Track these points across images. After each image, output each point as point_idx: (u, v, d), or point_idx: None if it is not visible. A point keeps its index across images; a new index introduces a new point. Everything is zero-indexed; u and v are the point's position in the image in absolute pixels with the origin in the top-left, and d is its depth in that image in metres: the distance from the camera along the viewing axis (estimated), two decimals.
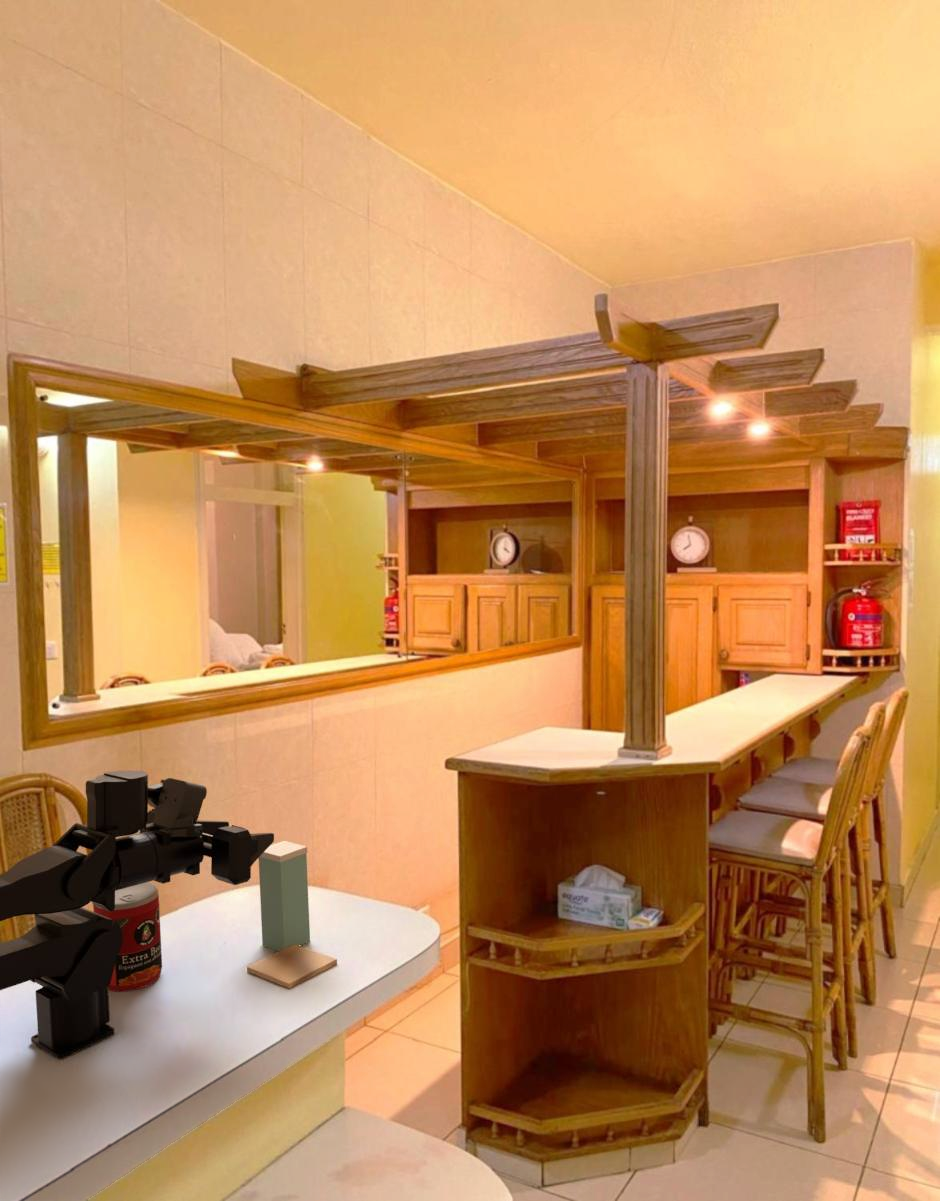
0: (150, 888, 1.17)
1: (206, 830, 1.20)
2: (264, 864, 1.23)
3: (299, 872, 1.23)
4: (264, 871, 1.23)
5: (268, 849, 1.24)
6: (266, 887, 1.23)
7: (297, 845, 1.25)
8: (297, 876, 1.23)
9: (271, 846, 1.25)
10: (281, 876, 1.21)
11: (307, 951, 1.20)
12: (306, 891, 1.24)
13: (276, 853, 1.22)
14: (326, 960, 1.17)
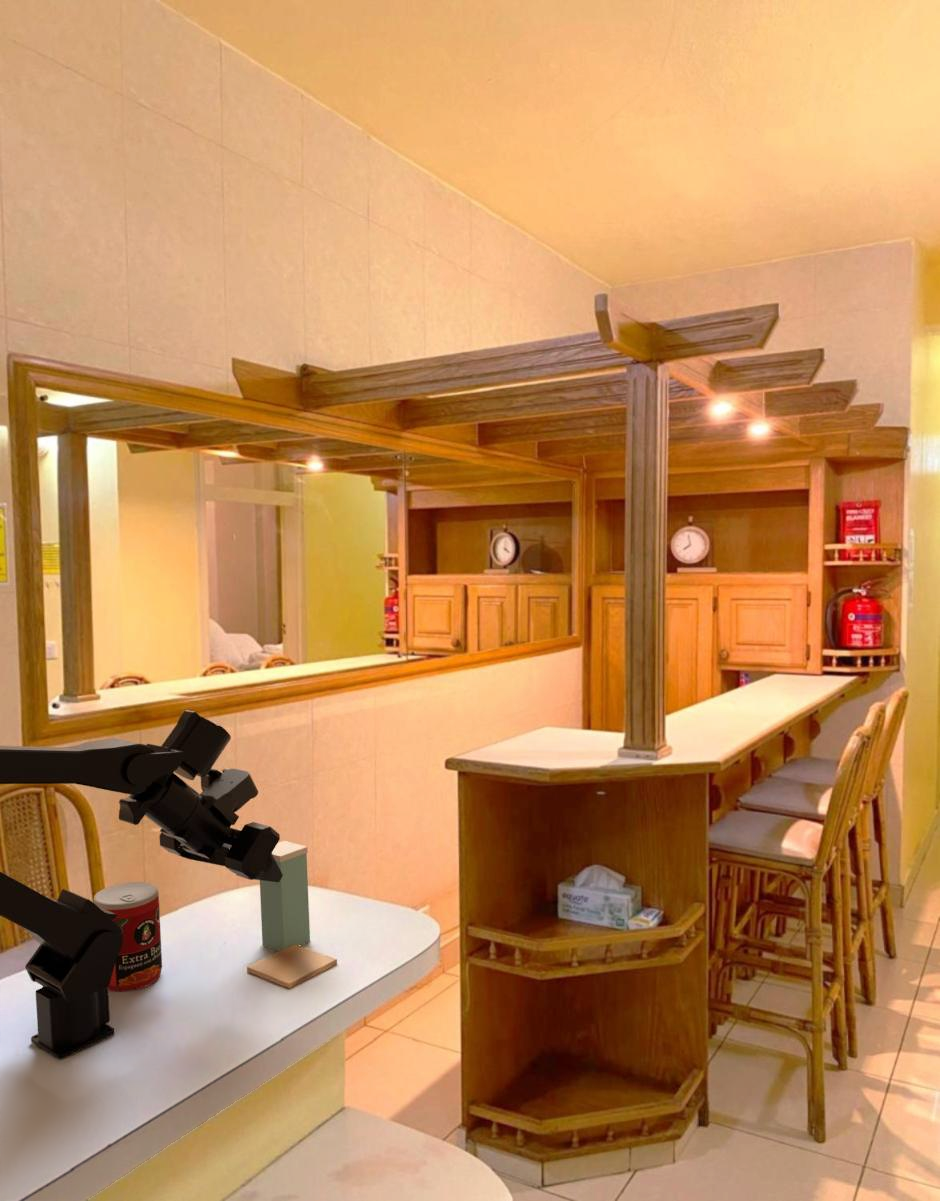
0: (150, 888, 1.17)
1: (220, 851, 1.21)
2: None
3: (299, 872, 1.23)
4: None
5: None
6: (266, 887, 1.23)
7: (298, 845, 1.25)
8: (297, 876, 1.23)
9: None
10: None
11: (307, 951, 1.20)
12: (306, 891, 1.24)
13: (276, 853, 1.22)
14: (326, 960, 1.17)
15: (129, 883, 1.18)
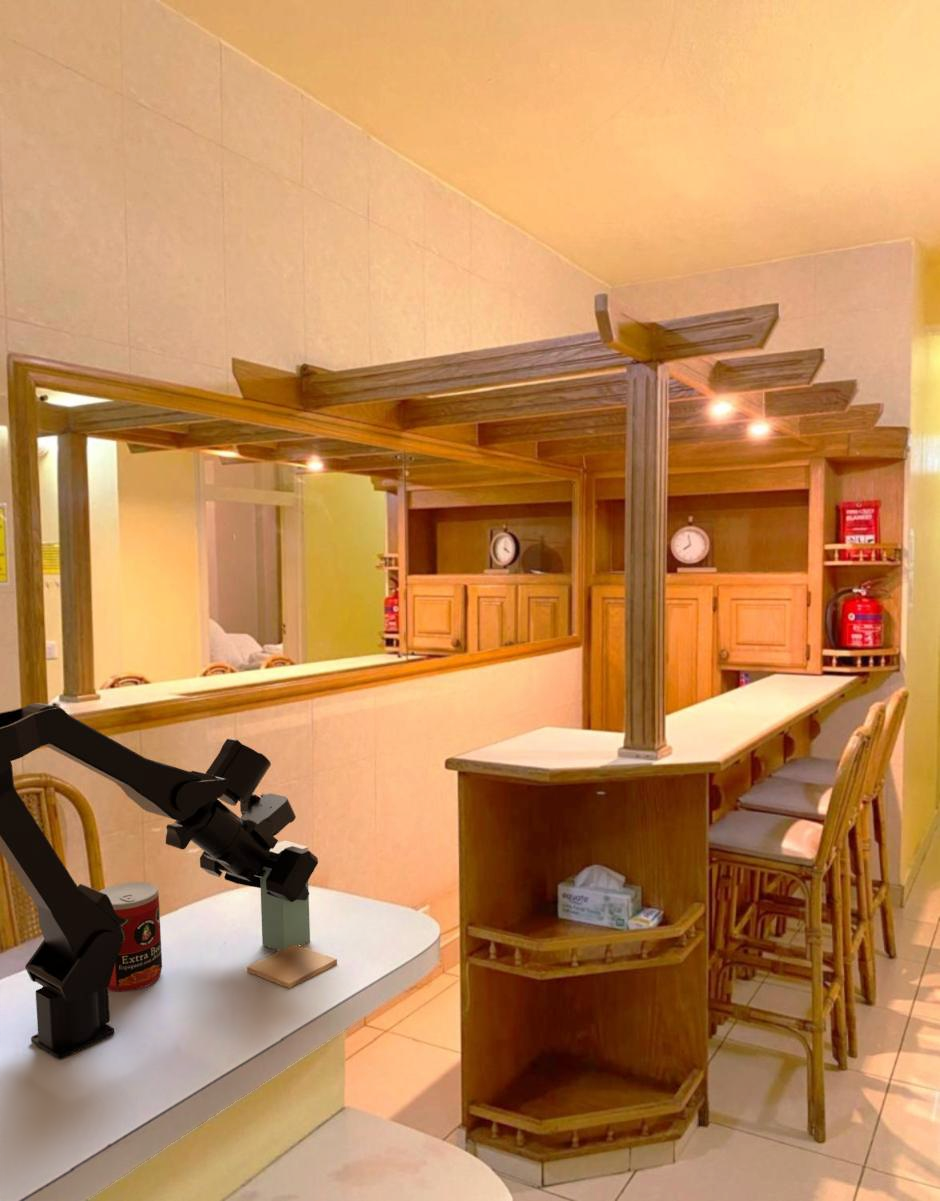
0: (150, 888, 1.17)
1: None
2: None
3: None
4: None
5: None
6: None
7: (298, 845, 1.25)
8: None
9: None
10: None
11: (307, 951, 1.20)
12: None
13: None
14: (326, 960, 1.17)
15: (129, 883, 1.18)
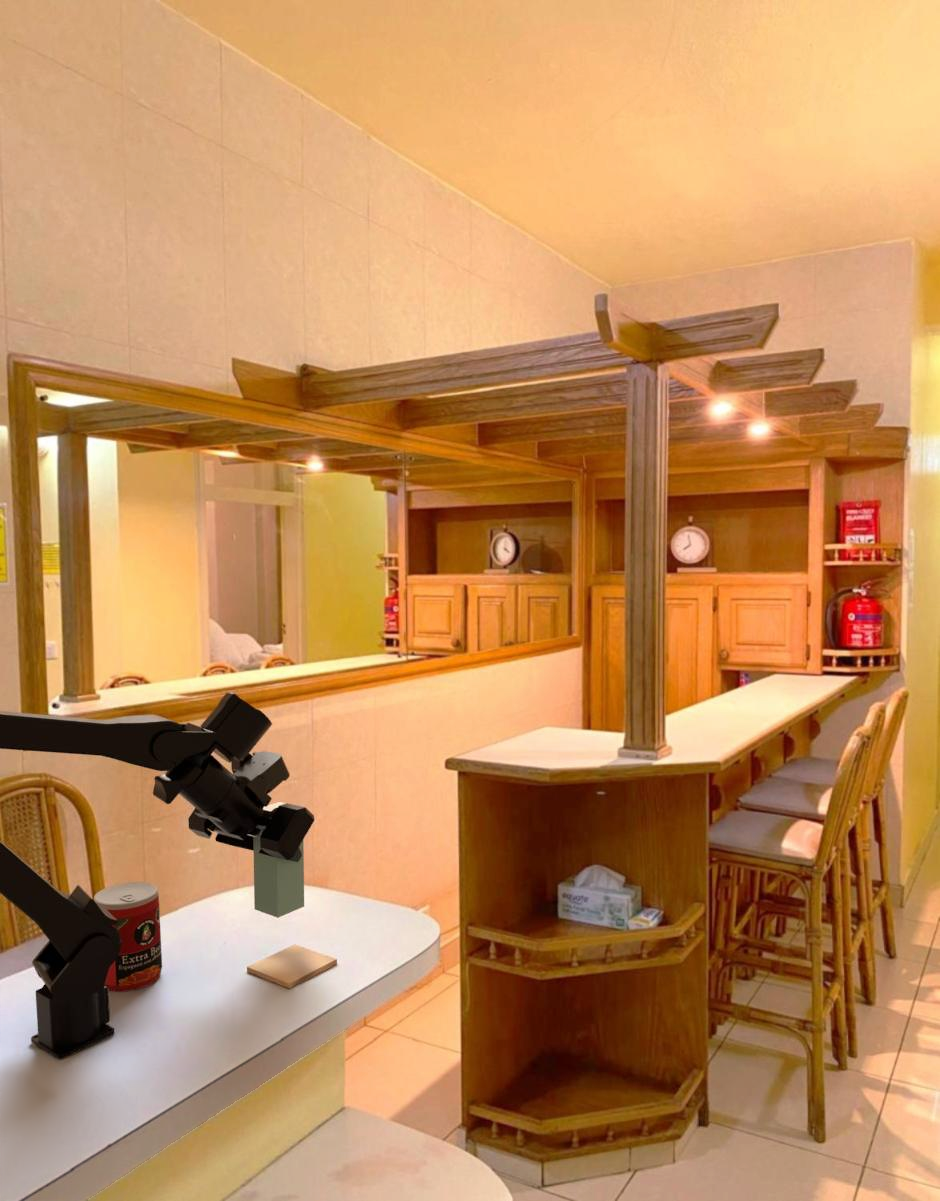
0: (150, 888, 1.17)
1: None
2: None
3: None
4: None
5: (263, 809, 1.18)
6: (260, 848, 1.18)
7: None
8: None
9: (266, 807, 1.20)
10: None
11: (307, 951, 1.20)
12: (302, 854, 1.19)
13: None
14: (326, 960, 1.17)
15: (129, 883, 1.18)
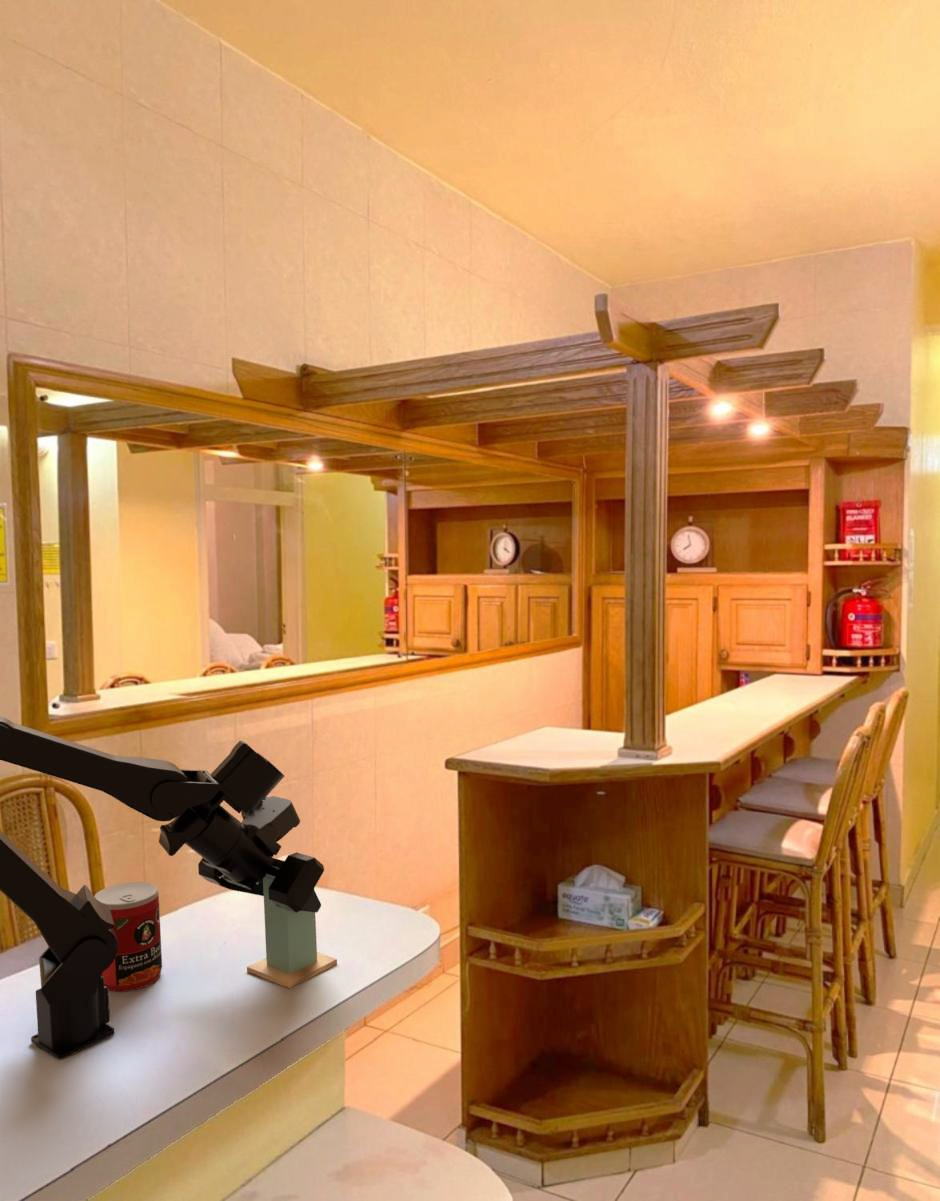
0: (150, 888, 1.17)
1: (262, 881, 1.18)
2: (268, 879, 1.15)
3: None
4: (268, 886, 1.15)
5: None
6: (270, 903, 1.15)
7: None
8: None
9: None
10: None
11: None
12: None
13: None
14: (326, 960, 1.17)
15: (129, 883, 1.18)
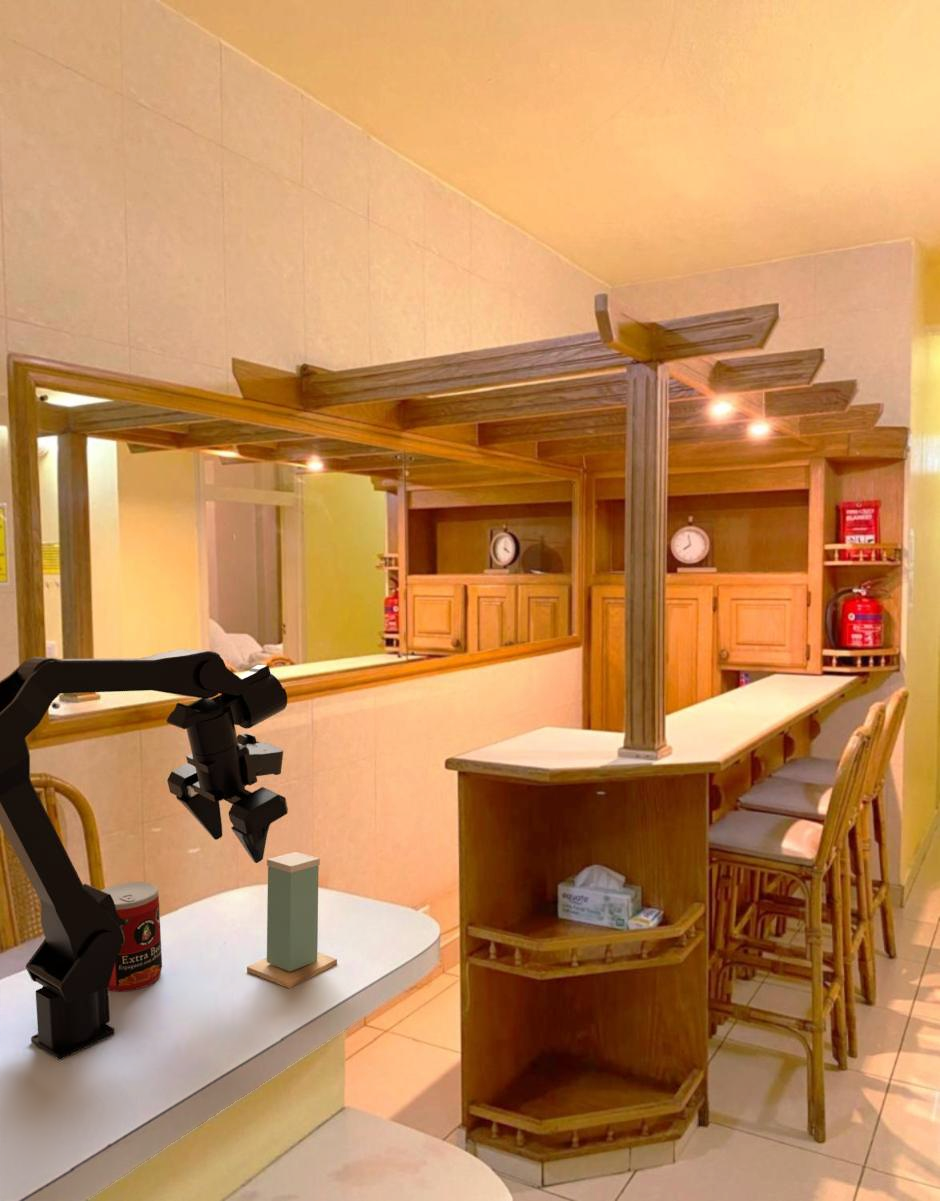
0: (150, 888, 1.17)
1: (213, 815, 1.22)
2: (273, 874, 1.16)
3: (310, 885, 1.16)
4: (273, 882, 1.16)
5: (278, 859, 1.17)
6: (274, 899, 1.16)
7: (309, 856, 1.18)
8: (308, 889, 1.16)
9: (282, 856, 1.18)
10: (291, 887, 1.14)
11: None
12: (316, 906, 1.17)
13: (287, 863, 1.15)
14: (326, 960, 1.17)
15: (129, 883, 1.18)
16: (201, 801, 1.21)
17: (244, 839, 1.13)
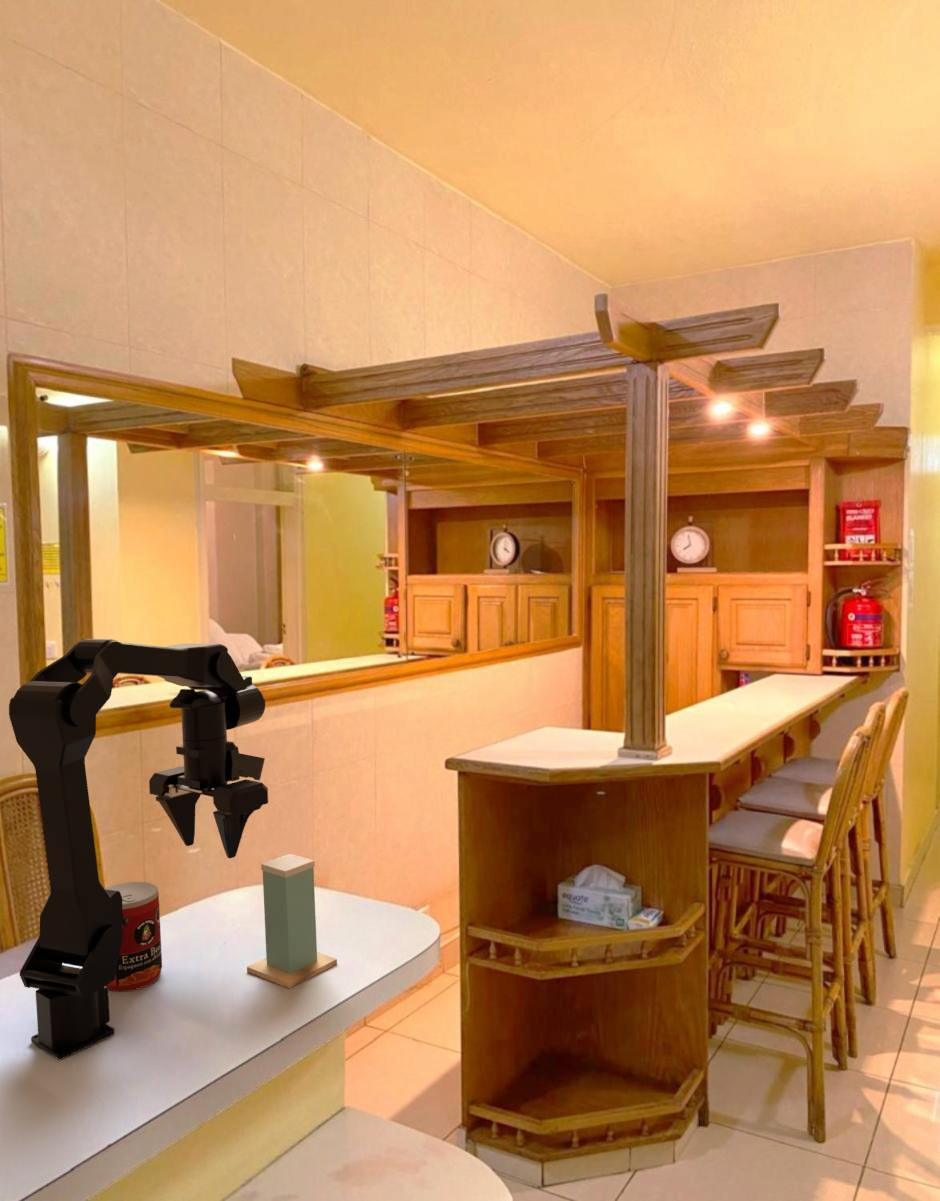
0: (150, 888, 1.17)
1: (188, 820, 1.26)
2: (268, 879, 1.15)
3: (306, 888, 1.16)
4: (268, 886, 1.15)
5: (273, 863, 1.16)
6: (270, 903, 1.15)
7: (304, 859, 1.17)
8: (304, 892, 1.16)
9: (276, 860, 1.17)
10: (286, 892, 1.13)
11: None
12: (313, 908, 1.17)
13: (281, 867, 1.14)
14: (326, 960, 1.17)
15: (129, 883, 1.18)
16: (179, 803, 1.26)
17: (224, 824, 1.18)
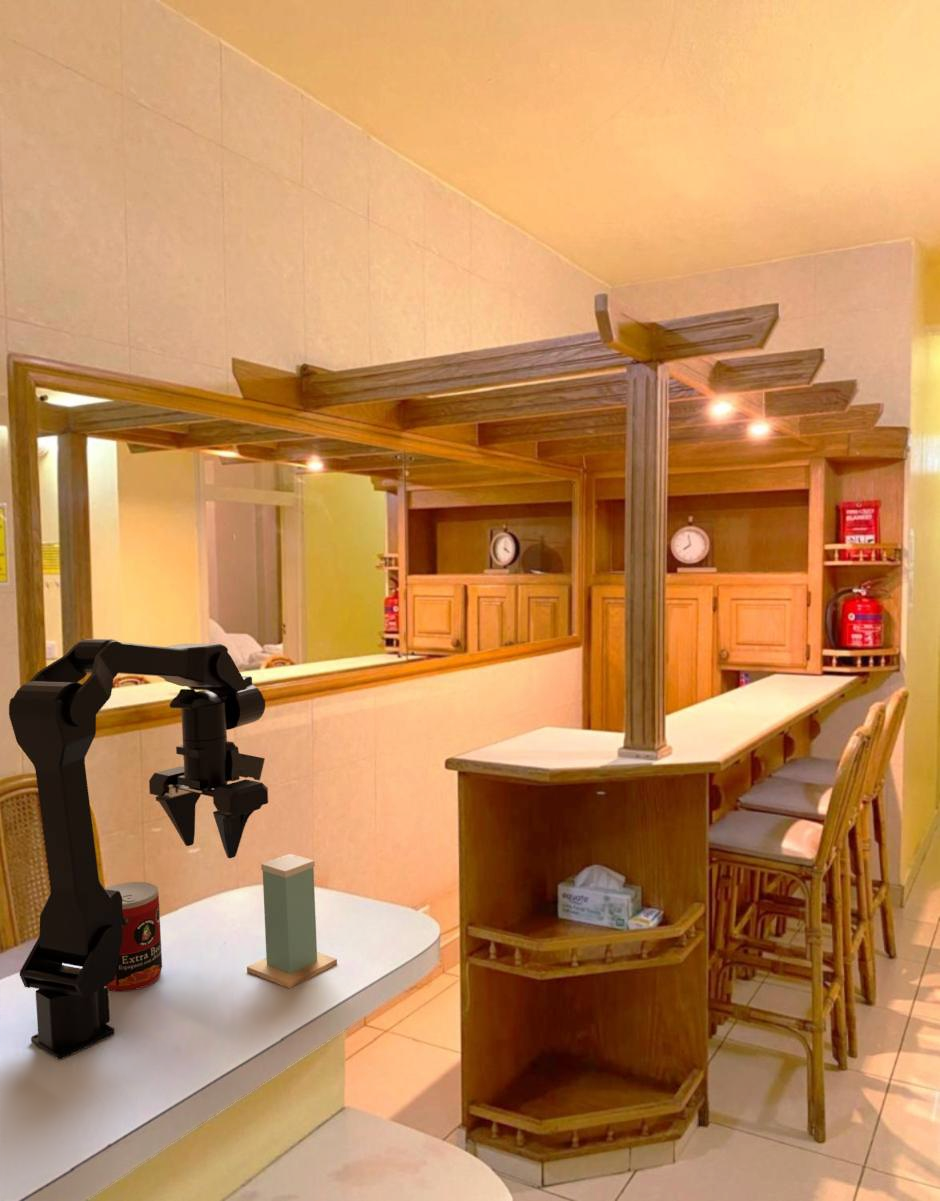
0: (150, 888, 1.17)
1: (188, 820, 1.26)
2: (268, 879, 1.15)
3: (306, 888, 1.16)
4: (268, 886, 1.15)
5: (273, 863, 1.16)
6: (270, 903, 1.15)
7: (304, 859, 1.17)
8: (304, 892, 1.16)
9: (276, 860, 1.17)
10: (286, 892, 1.13)
11: None
12: (313, 908, 1.17)
13: (281, 867, 1.14)
14: (326, 960, 1.17)
15: (129, 883, 1.18)
16: (179, 803, 1.26)
17: (224, 824, 1.18)
